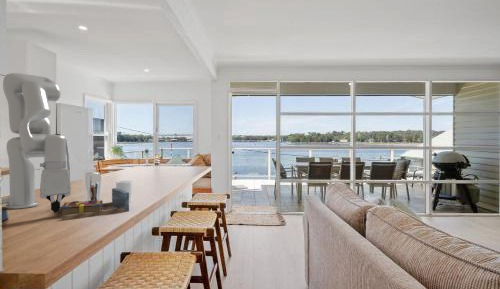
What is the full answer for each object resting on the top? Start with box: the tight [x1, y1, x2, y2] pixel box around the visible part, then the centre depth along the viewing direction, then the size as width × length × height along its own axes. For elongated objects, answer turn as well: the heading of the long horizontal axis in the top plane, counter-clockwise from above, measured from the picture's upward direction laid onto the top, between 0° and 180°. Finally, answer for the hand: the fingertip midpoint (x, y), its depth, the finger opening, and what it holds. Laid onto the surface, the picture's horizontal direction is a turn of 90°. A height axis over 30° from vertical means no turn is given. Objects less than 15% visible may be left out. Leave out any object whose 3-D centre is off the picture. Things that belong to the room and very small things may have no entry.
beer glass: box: [84, 171, 102, 201], centre depth 158 cm, size 7×7×15 cm
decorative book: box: [60, 199, 106, 218], centre depth 141 cm, size 11×16×5 cm
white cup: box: [115, 180, 134, 203], centre depth 166 cm, size 8×8×10 cm
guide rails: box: [52, 187, 130, 221], centre depth 143 cm, size 26×16×8 cm, turn 131°
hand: (55, 211), depth 134 cm, fingers closed
